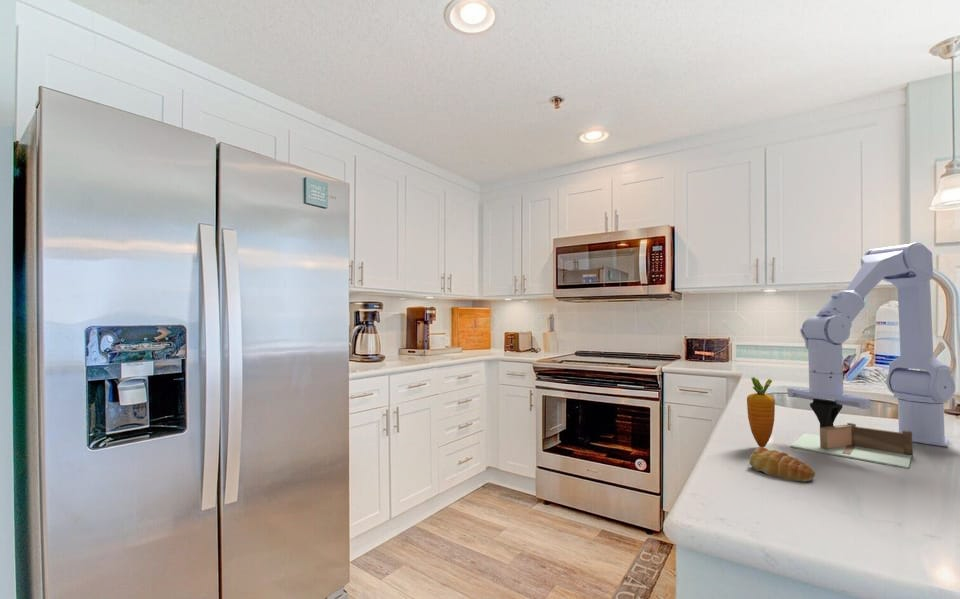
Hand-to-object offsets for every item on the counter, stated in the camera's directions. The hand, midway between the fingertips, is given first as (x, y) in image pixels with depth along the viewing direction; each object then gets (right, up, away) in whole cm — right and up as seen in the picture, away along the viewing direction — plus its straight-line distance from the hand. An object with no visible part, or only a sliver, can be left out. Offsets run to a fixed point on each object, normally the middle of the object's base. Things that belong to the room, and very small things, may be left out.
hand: (827, 436), depth 92 cm
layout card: (+4, -2, -2) cm, 4 cm away
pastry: (-20, -2, -14) cm, 24 cm away
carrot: (-14, -3, 0) cm, 14 cm away
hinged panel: (+1, -2, -1) cm, 2 cm away
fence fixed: (+9, -2, -3) cm, 9 cm away
